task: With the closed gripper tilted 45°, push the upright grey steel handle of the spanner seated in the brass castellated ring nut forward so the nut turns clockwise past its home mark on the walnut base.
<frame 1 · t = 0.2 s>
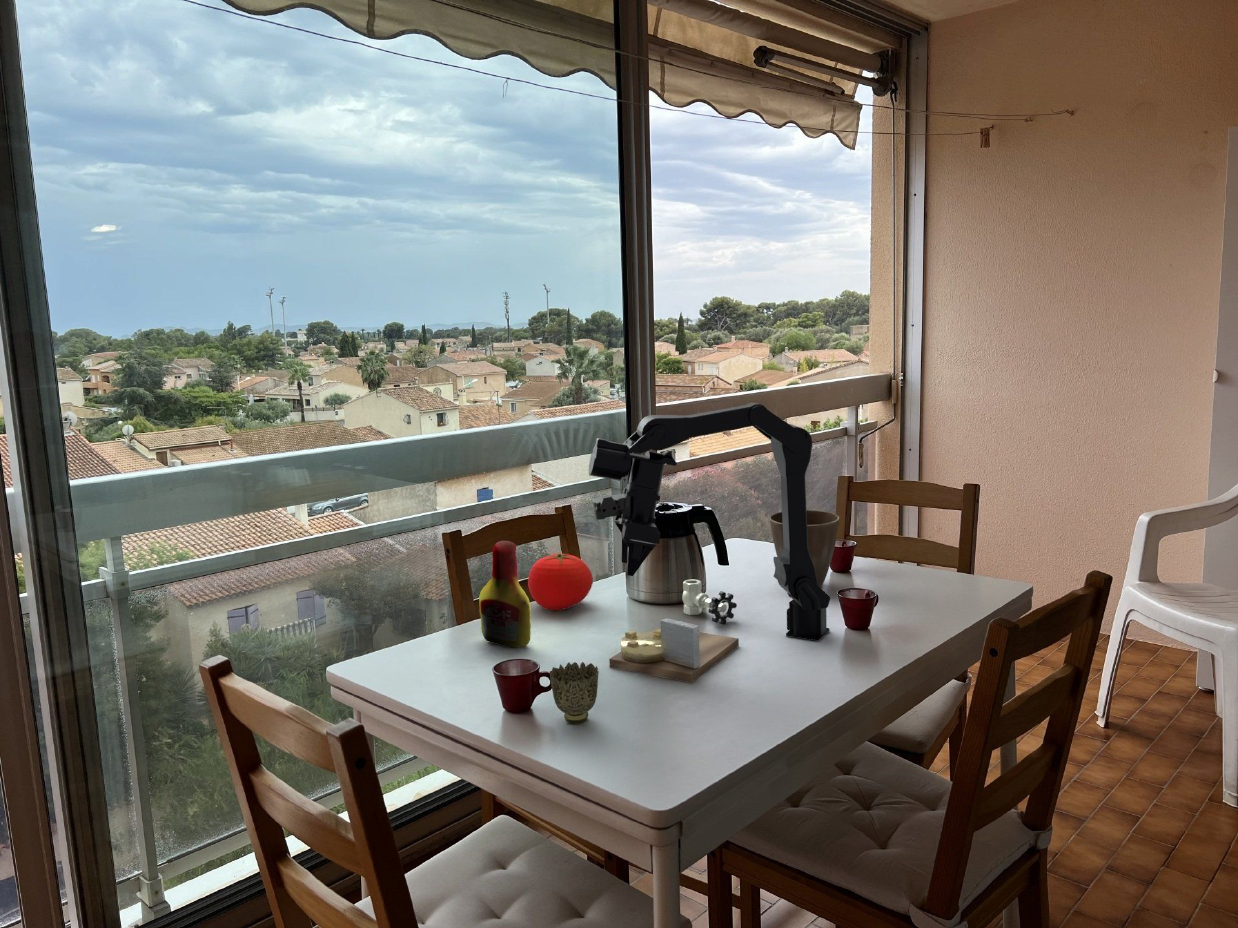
hand: (627, 568, 164), 15 cm above the table, tool pointing down, fingers open, 9 cm apart
valve: (705, 618, 184), on the table
walnut base: (675, 656, 163), on the table
ring nut spanner: (660, 637, 157), point 5 cm above the table, hinge at 30.0°
cup: (576, 721, 138), on the table
bottle: (507, 644, 173), on the table
plant pot: (804, 588, 200), on the table
tomato: (560, 607, 194), on the table
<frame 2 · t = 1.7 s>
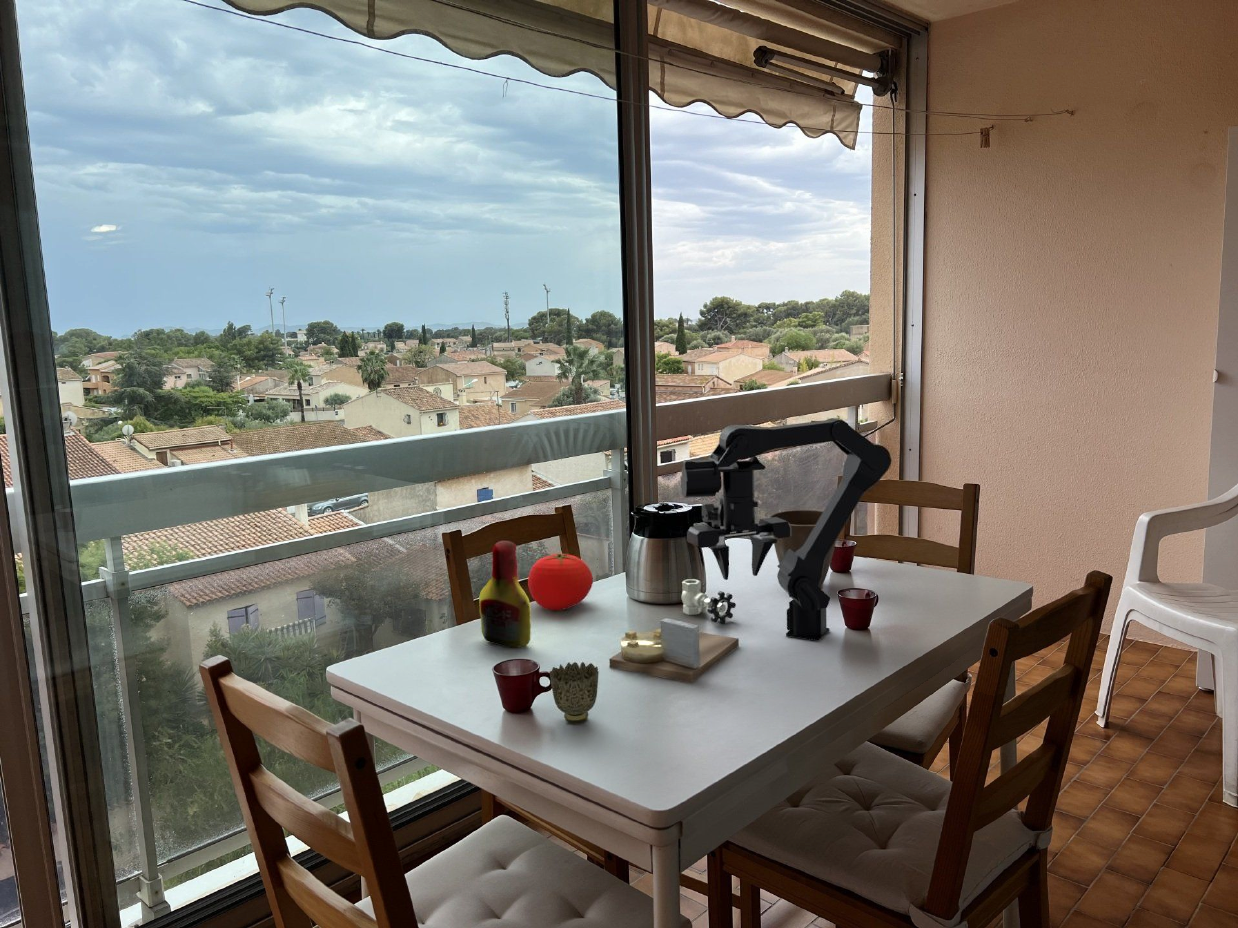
hand: (740, 577, 168), 12 cm above the table, tool pointing down, fingers open, 6 cm apart
nothing on the table moved.
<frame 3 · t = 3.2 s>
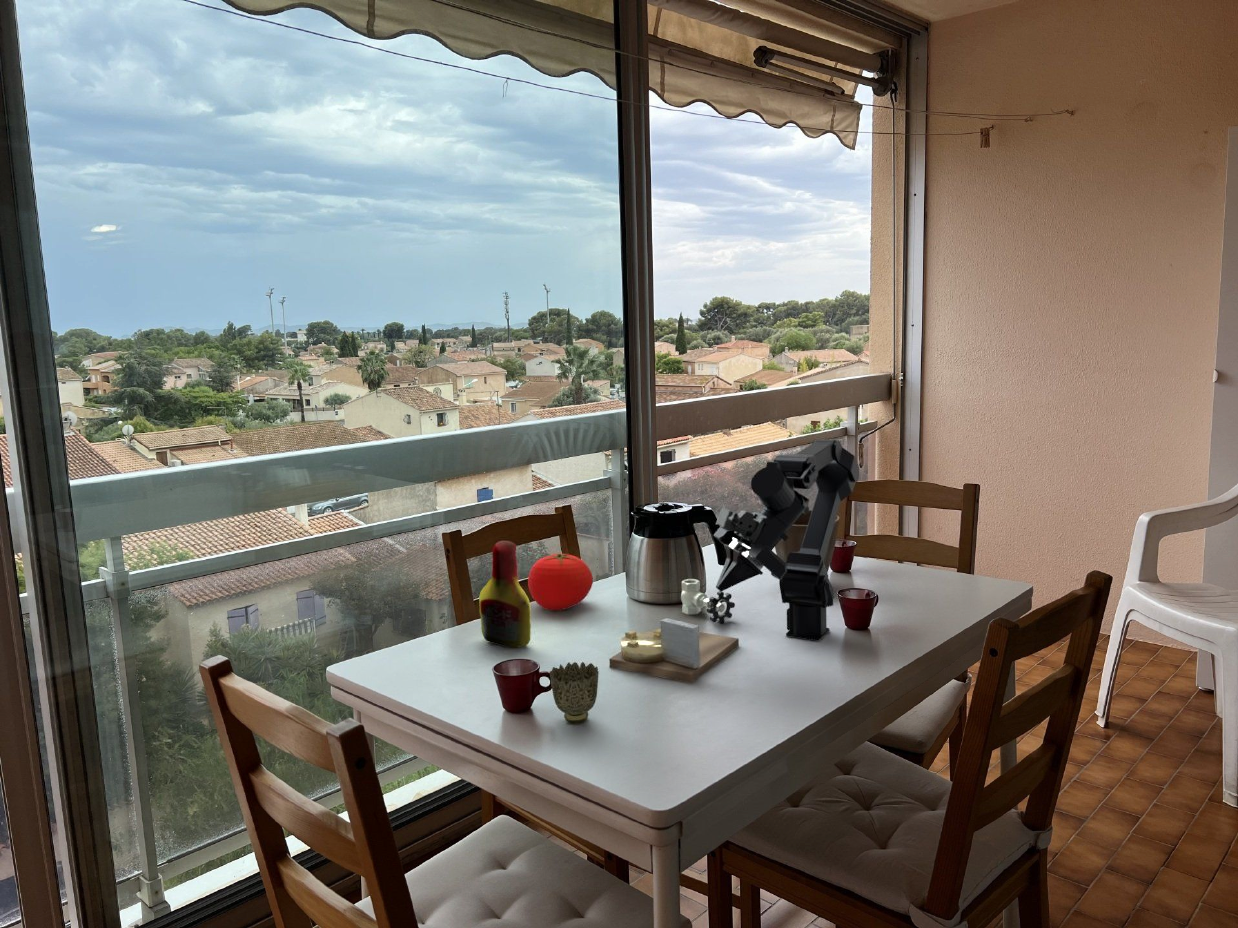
hand: (718, 589, 156), 13 cm above the table, tool tilted 45°, fingers closed
nothing on the table moved.
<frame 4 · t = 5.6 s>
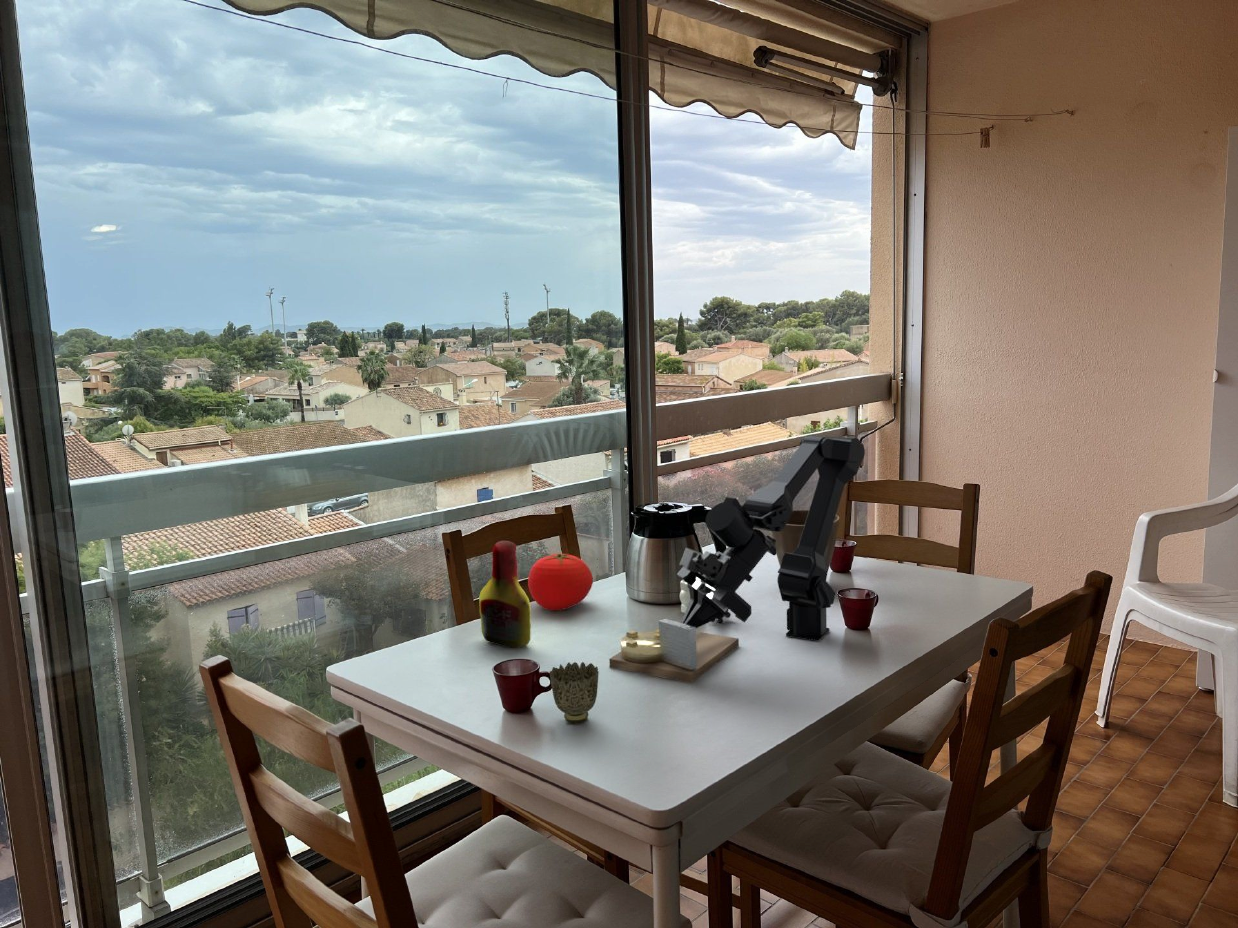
hand: (682, 630, 154), 7 cm above the table, tool tilted 45°, fingers closed
ring nut spanner: (659, 638, 157), point 5 cm above the table, hinge at 25.4°, touching gripper
everything else where it was.
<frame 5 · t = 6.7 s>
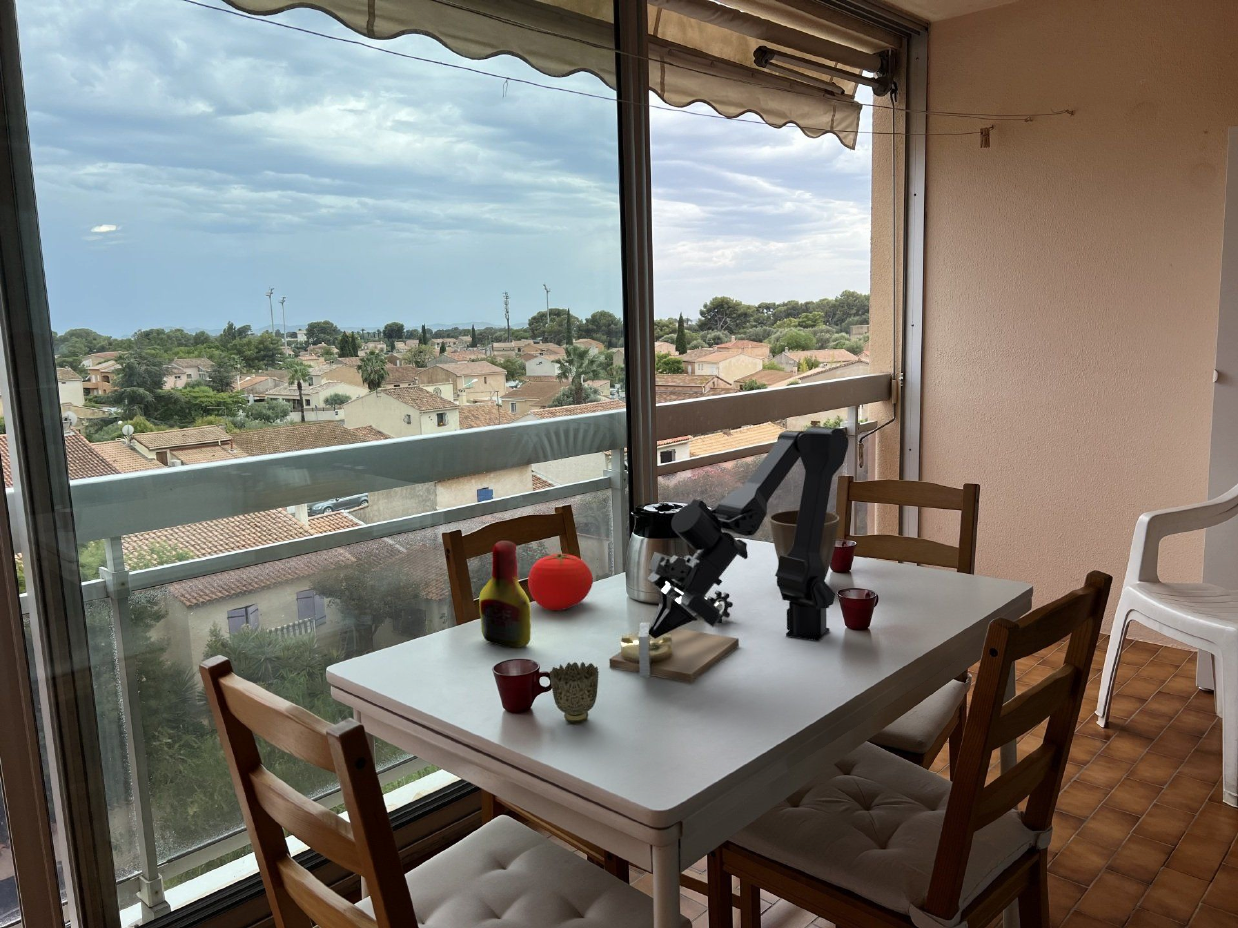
hand: (651, 636, 152), 7 cm above the table, tool tilted 45°, fingers closed
ring nut spanner: (645, 640, 156), point 5 cm above the table, hinge at -21.9°, touching gripper
everything else where it was.
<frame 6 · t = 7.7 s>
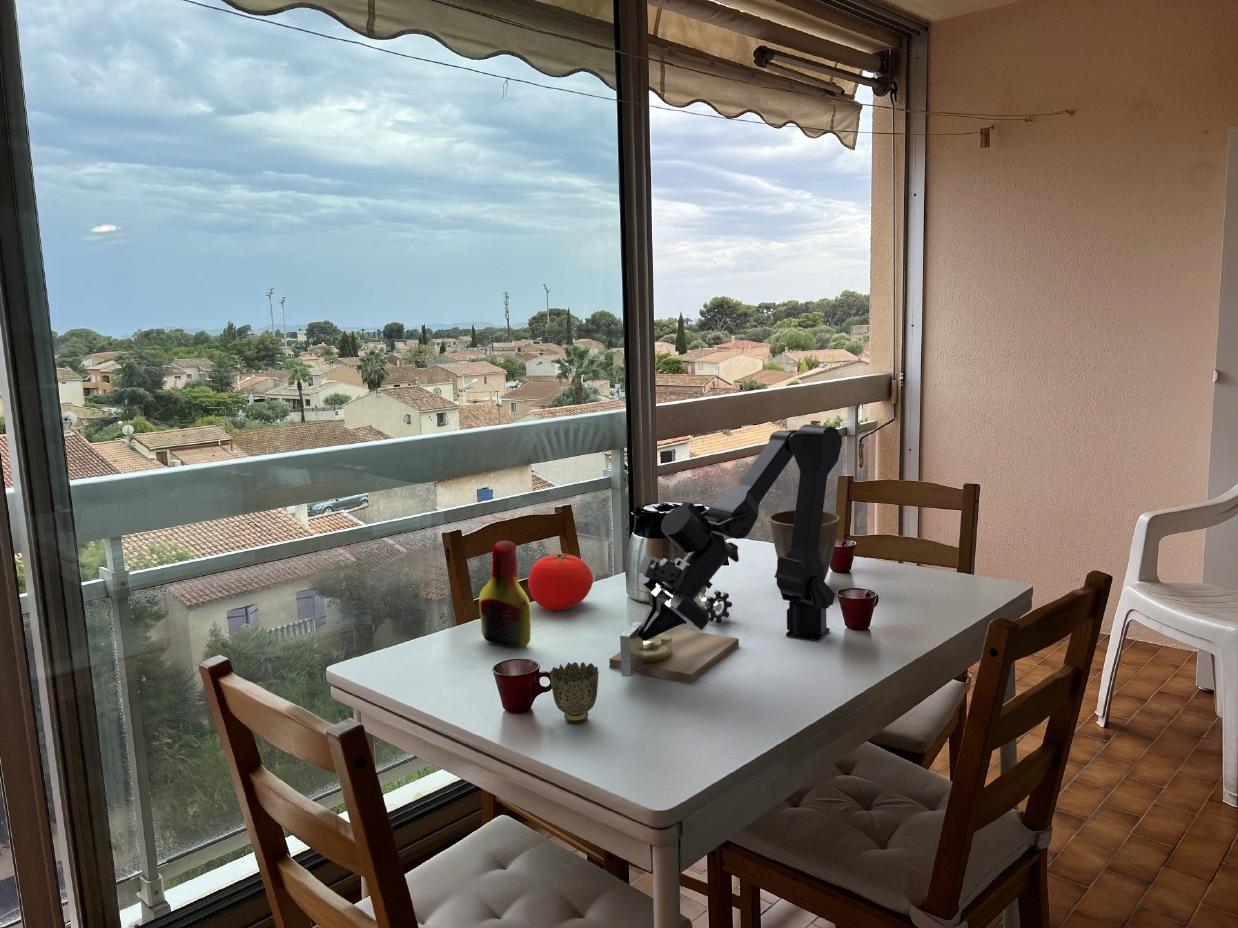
hand: (641, 638, 152), 7 cm above the table, tool tilted 45°, fingers closed
ring nut spanner: (640, 640, 156), point 5 cm above the table, hinge at -38.0°, touching gripper
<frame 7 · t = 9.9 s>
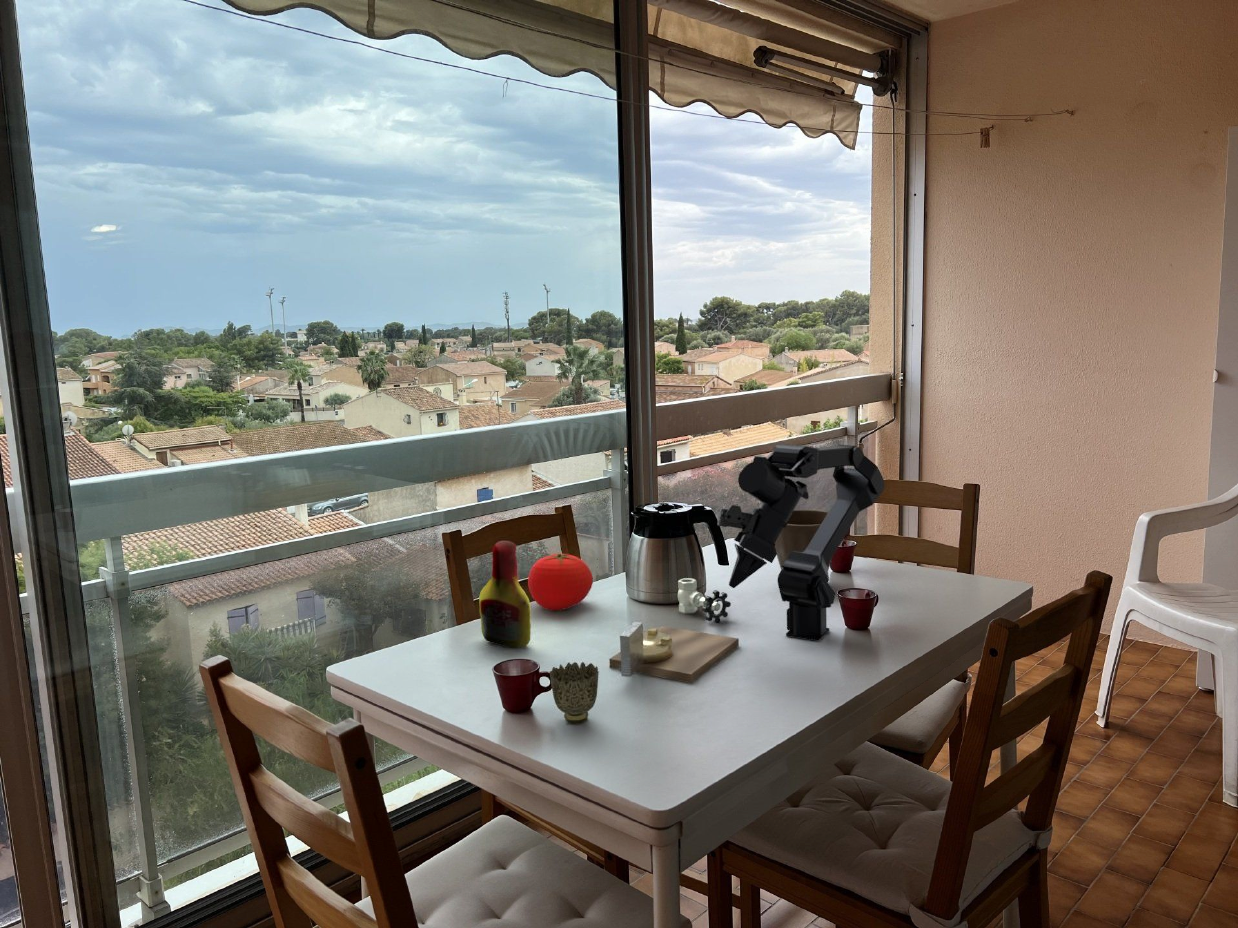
hand: (731, 586, 162), 12 cm above the table, tool tilted 35°, fingers closed
ring nut spanner: (640, 640, 156), point 5 cm above the table, hinge at -38.1°
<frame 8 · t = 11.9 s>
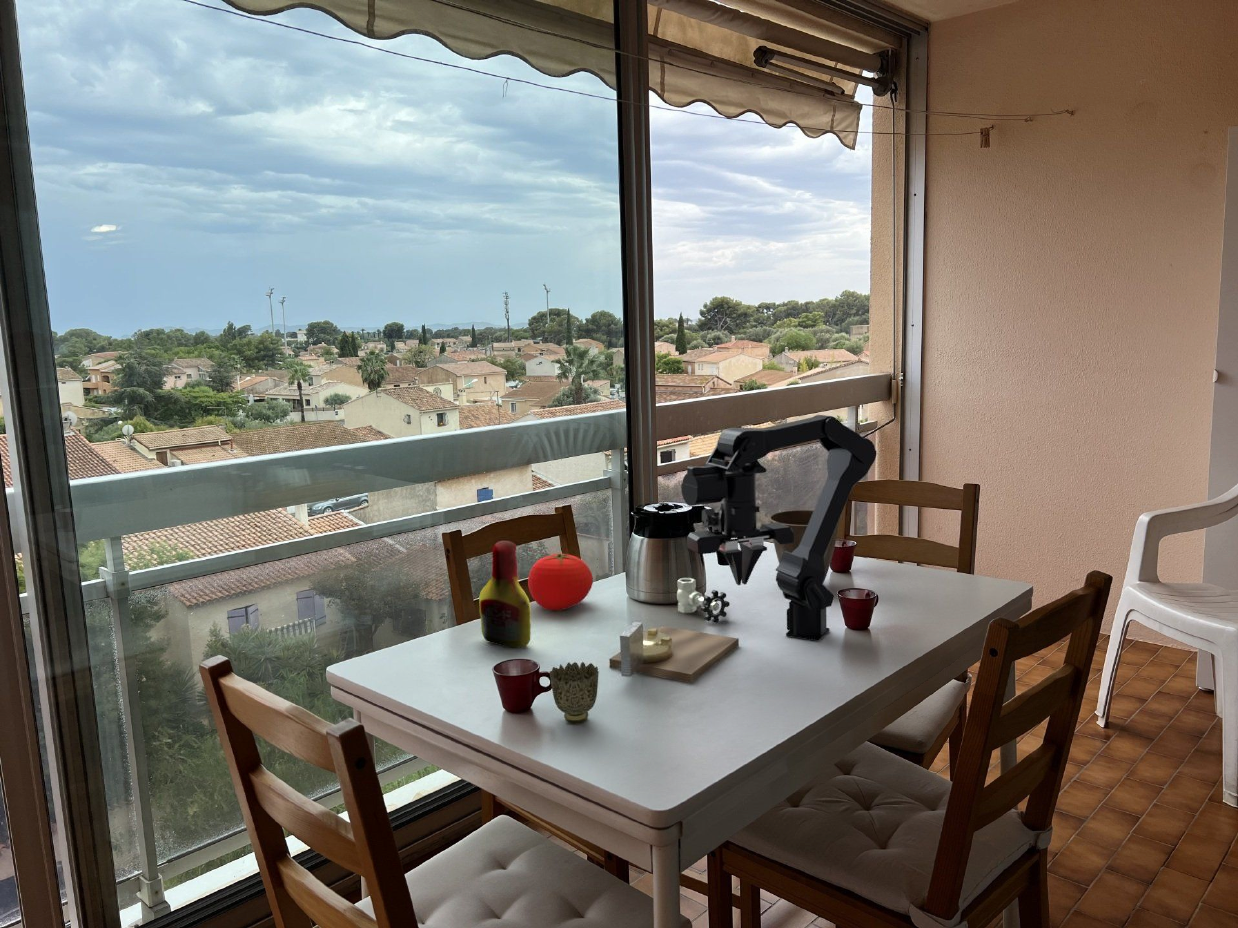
hand: (741, 584, 164), 12 cm above the table, tool pointing down, fingers closed
at the end: ring nut spanner at -38° (first picture: +30°) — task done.
